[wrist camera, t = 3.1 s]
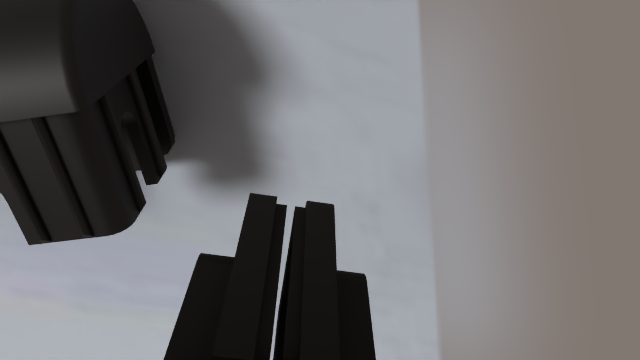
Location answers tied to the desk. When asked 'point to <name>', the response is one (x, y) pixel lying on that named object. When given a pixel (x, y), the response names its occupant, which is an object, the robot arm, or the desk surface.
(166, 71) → the desk surface
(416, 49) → the desk surface
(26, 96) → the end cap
